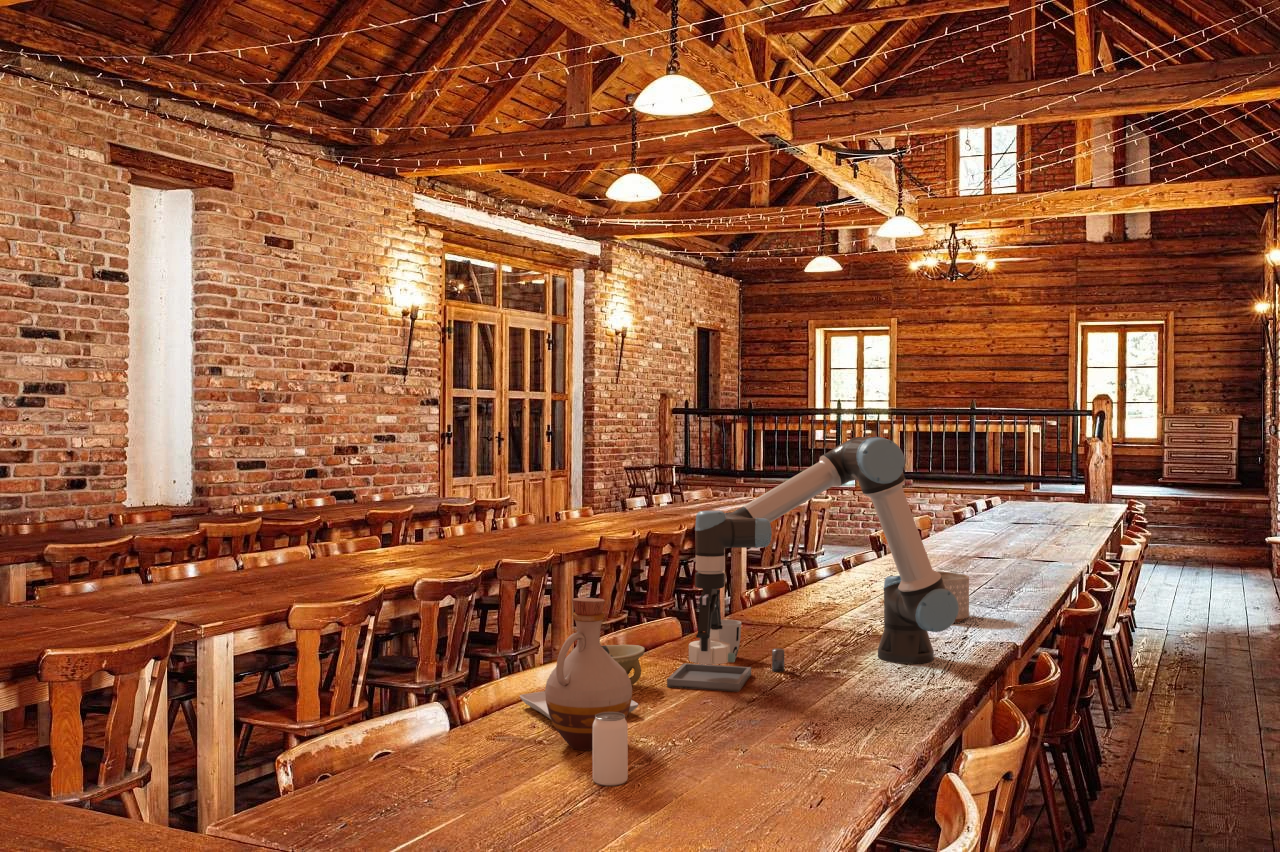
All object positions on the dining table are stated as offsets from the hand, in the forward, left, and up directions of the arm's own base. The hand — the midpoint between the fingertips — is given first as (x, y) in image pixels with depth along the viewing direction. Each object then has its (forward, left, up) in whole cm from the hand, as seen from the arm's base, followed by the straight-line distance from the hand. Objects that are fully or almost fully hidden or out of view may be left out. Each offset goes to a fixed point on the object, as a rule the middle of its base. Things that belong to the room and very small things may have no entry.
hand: (709, 659), depth 274 cm
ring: (0, 0, 0) cm, 0 cm away
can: (+2, +79, -6) cm, 79 cm away
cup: (+1, -27, -6) cm, 28 cm away
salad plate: (+23, +36, -6) cm, 43 cm away
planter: (-56, -104, -6) cm, 118 cm away
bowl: (+23, +12, -6) cm, 26 cm away
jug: (+13, +60, -6) cm, 62 cm away
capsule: (-15, -16, -6) cm, 23 cm away
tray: (0, 0, -6) cm, 6 cm away
